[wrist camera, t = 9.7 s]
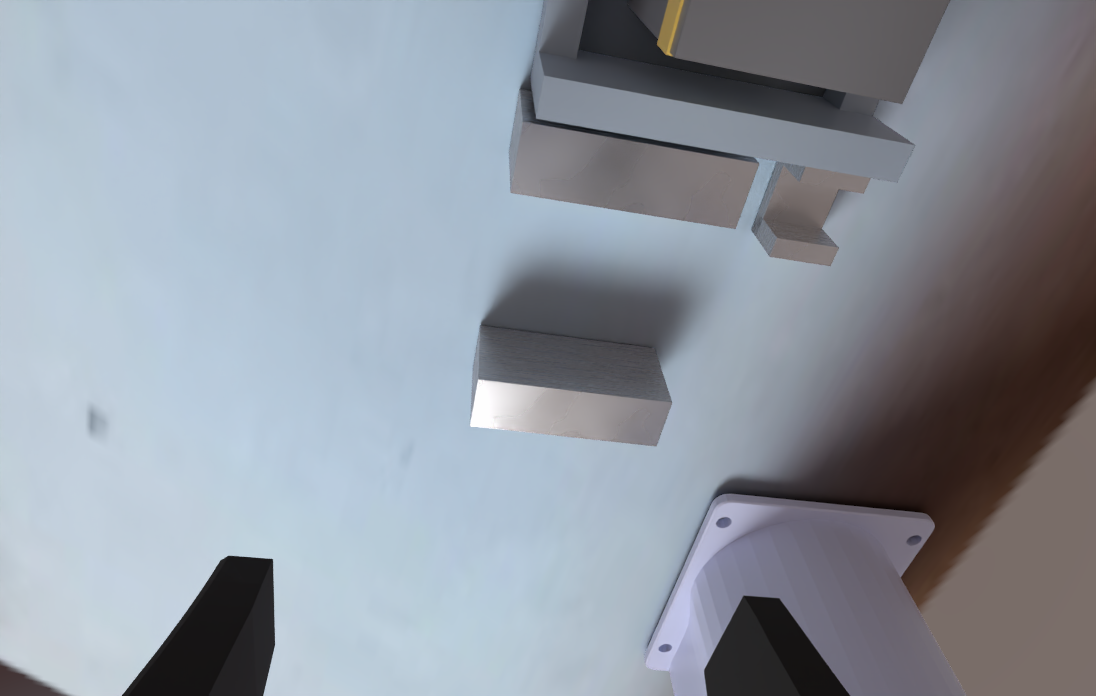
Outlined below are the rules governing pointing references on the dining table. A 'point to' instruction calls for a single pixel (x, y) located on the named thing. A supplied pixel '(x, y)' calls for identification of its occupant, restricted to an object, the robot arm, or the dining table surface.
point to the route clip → (801, 212)
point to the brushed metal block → (581, 364)
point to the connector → (802, 39)
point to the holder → (705, 107)
